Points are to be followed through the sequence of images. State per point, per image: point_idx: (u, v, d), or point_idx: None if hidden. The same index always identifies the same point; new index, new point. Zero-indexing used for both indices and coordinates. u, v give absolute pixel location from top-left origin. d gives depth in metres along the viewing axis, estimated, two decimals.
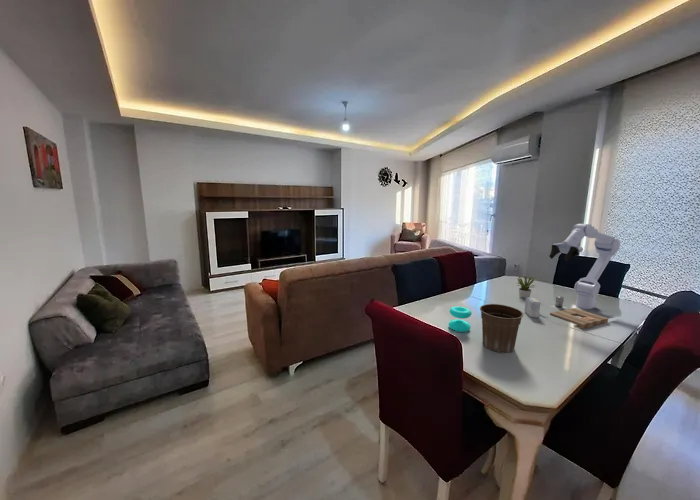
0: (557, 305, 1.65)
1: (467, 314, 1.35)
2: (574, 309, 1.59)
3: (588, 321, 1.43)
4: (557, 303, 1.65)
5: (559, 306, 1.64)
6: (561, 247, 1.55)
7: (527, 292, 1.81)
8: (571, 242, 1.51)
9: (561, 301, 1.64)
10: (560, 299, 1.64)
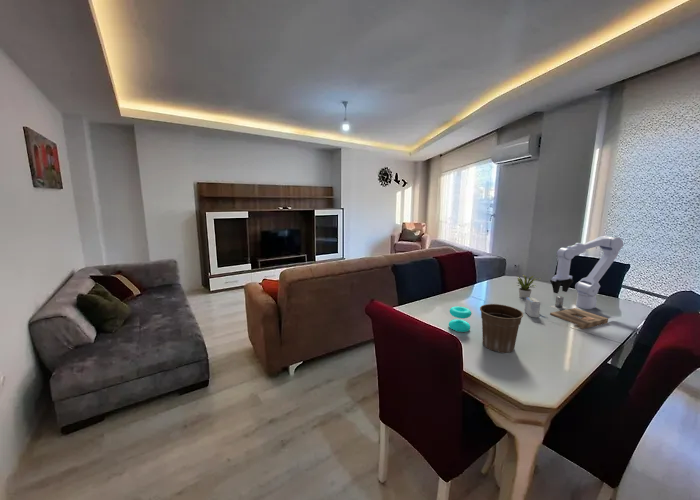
0: (557, 305, 1.65)
1: (467, 314, 1.35)
2: (574, 309, 1.59)
3: (588, 321, 1.43)
4: (557, 303, 1.65)
5: (559, 306, 1.64)
6: None
7: (527, 292, 1.81)
8: None
9: (561, 301, 1.64)
10: (560, 299, 1.64)
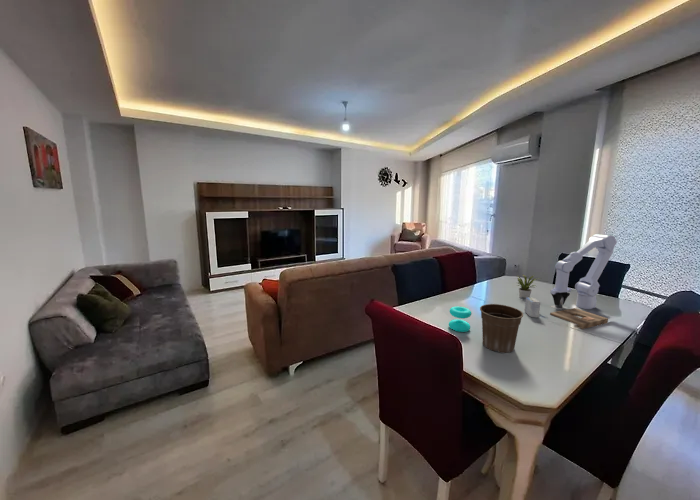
0: None
1: (467, 314, 1.35)
2: (574, 309, 1.59)
3: (588, 321, 1.43)
4: None
5: (559, 306, 1.64)
6: None
7: (527, 292, 1.81)
8: (555, 286, 1.65)
9: (561, 301, 1.64)
10: None
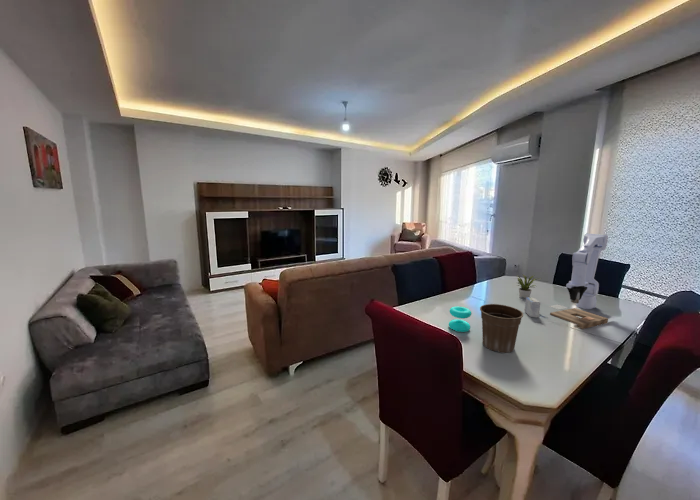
0: (572, 300, 1.53)
1: (467, 314, 1.35)
2: (574, 309, 1.59)
3: (588, 321, 1.43)
4: None
5: (575, 301, 1.52)
6: None
7: (527, 292, 1.81)
8: (571, 280, 1.53)
9: (577, 296, 1.51)
10: None
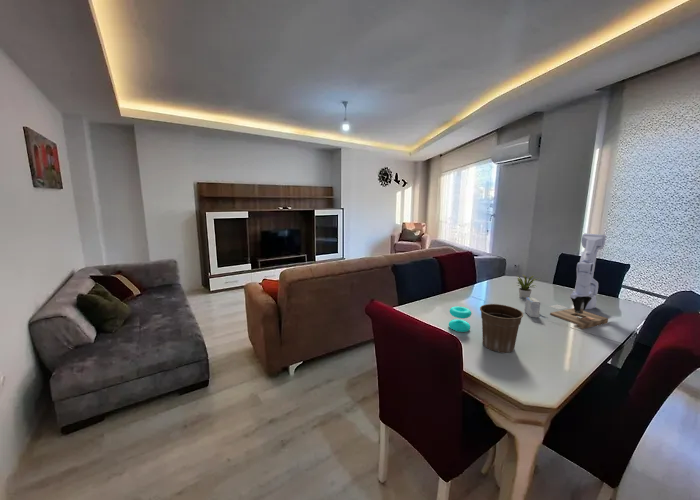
0: None
1: (467, 314, 1.35)
2: None
3: (588, 321, 1.43)
4: None
5: (579, 311, 1.49)
6: None
7: (527, 292, 1.81)
8: (575, 290, 1.50)
9: (581, 306, 1.48)
10: None
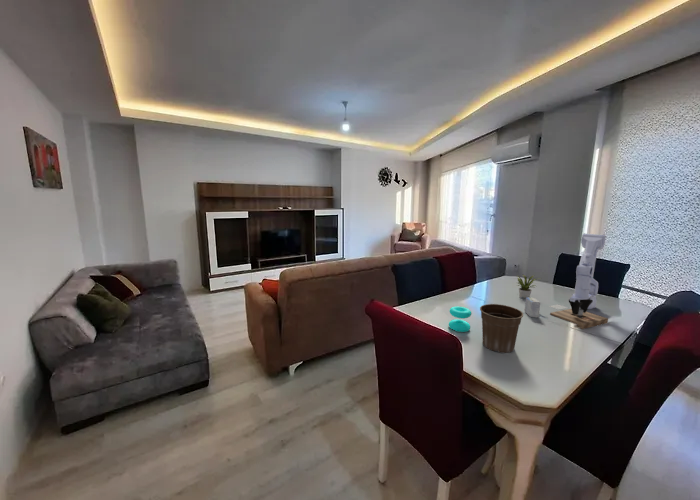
0: None
1: (467, 314, 1.35)
2: None
3: (588, 321, 1.43)
4: (576, 316, 1.50)
5: None
6: None
7: (527, 292, 1.81)
8: None
9: (580, 314, 1.49)
10: (579, 312, 1.49)
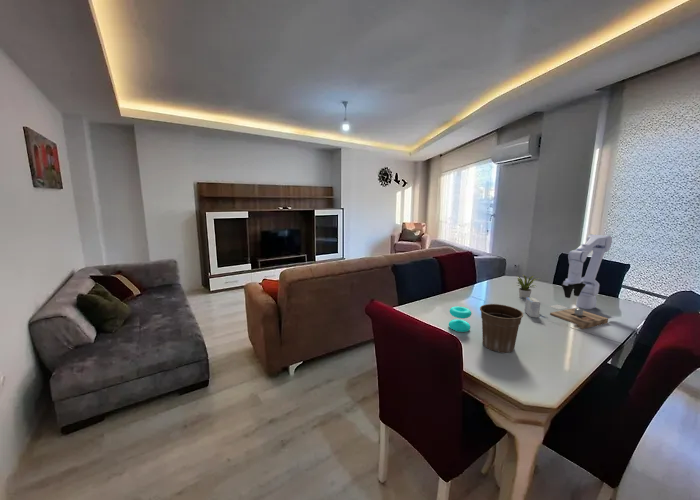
0: None
1: (467, 314, 1.35)
2: (574, 309, 1.59)
3: (588, 321, 1.43)
4: (576, 316, 1.50)
5: None
6: None
7: (527, 292, 1.81)
8: (568, 277, 1.56)
9: (580, 314, 1.49)
10: (579, 312, 1.49)
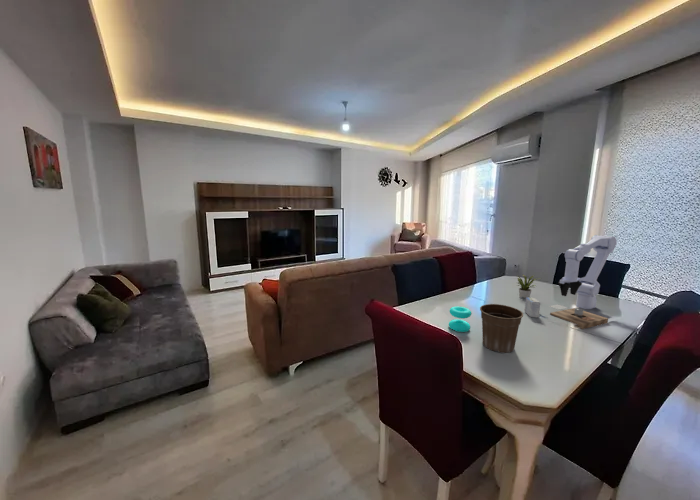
0: None
1: (467, 314, 1.35)
2: (574, 309, 1.59)
3: (588, 321, 1.43)
4: (576, 316, 1.50)
5: None
6: None
7: (527, 292, 1.81)
8: (564, 276, 1.59)
9: (580, 314, 1.49)
10: (579, 312, 1.49)
